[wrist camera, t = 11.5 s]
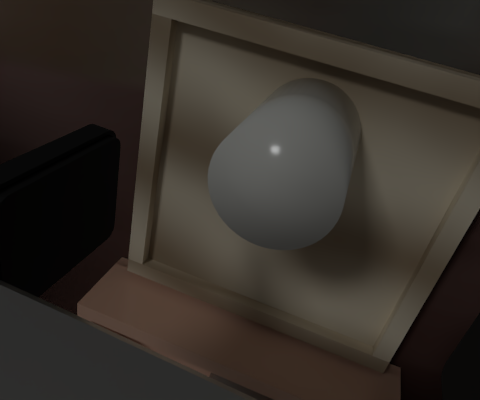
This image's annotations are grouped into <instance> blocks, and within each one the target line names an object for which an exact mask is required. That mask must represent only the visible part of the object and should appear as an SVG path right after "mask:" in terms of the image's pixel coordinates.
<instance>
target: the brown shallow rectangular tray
mask: <svg viewBox="0 0 480 400" xmlns="http://www.w3.org/2000/svg"><path fill="white" fill-rule="evenodd" d="M127 269H128V259H126V258H123V257H122V258H121V259H120V260H119V261H118V262H117V263H116V264H115V265H114V266H113V267H112V268H111V269H110V270H109V271H108V272H107V273H106V274H105V275H104V276H103V277H102V278H101V279H100V280H99V281H98V283H97V284H96V285H95V286H94V287H93V288H92V289H91V290H90V291H89V292H88V293H87V294H86V295H85V296H84V297H83V298H82V299H81V300H80V301H79V302H78V303H77V316H79V317H82V318H84V319H86V320H88V321H90V322H92V323H95V324H97V325H99V326H101V327H103V328H105V329H108V330H110V331H112V332H114V333H116V334H118V335H121V336H123V337H125V338H127V339H129V340H131V341H133V342H136V343H138V344H140V345H142V346H144V347H146V348H148V349H151V350H153V351H155V352H157V353H159V354H161V355H163V356H166V357H168V358H170V359H172V360H174V361H176V362H178V363H181V364H183V365H185V366H187V367H189V368H191V369H193V370H195V371H198V372H200V373H202V374H204V375H206V376H208V377H209V375H210V373H213V374H216V375H218V376H220V377H223V378H225V379H227V380H229V381H232V382H234V383H236V384H239V385H241V386H243V387H246V388H248V389H250V390H253V391H255V392H257V393H260V394H262V395H264V396H267V397H269V398H271V399H274V400H401V368H400V367H397V366H395V365H392V364H390V363H389V364H388V366H387V367H386V369H385V371H384V372H383V373H380V372H378V371H375V370H373V369H371V368H368V367H366V366H363V365H361V364H358V363H356V362H353V361H351V360H348V359H346V358H343V357H341V356H338V355H336V354H333V353H331V352H328V351H326V350H323V349H321V348H318V347H316V346H313V345H311V344H308V343H306V342H303V341H301V340H299V339H296V338H294V337H291V336H289V335H286V334H284V333H281V332H279V331H276V330H274V329H271V328H269V327H266V326H264V325H261V324H259V323H256V322H254V321H251V320H249V319H246V318H244V317H241V316H239V315H236V314H234V313H231V312H229V311H227V310H224V309H222V308H219V307H217V306H214V305H212V304H209V303H207V302H204V301H202V300H199V299H197V298H194V297H192V296H189V295H187V294H184V293H182V292H179V291H177V290H174V289H172V288H169V287H167V286H164V285H162V284H160V283H157V282H155V281H152V280H150V279H147V278H145V277H142V276H140V275H137V274H135V273H132V272H130V271H127Z"/></svg>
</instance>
